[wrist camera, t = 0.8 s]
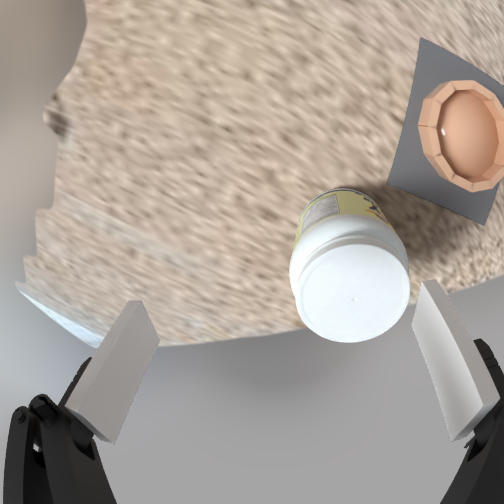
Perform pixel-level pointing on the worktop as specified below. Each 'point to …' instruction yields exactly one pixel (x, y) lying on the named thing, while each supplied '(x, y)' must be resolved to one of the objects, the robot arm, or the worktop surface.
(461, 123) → the bowl
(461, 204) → the placemat
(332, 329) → the supplement tub
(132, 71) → the worktop surface
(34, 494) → the robot arm
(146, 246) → the worktop surface
